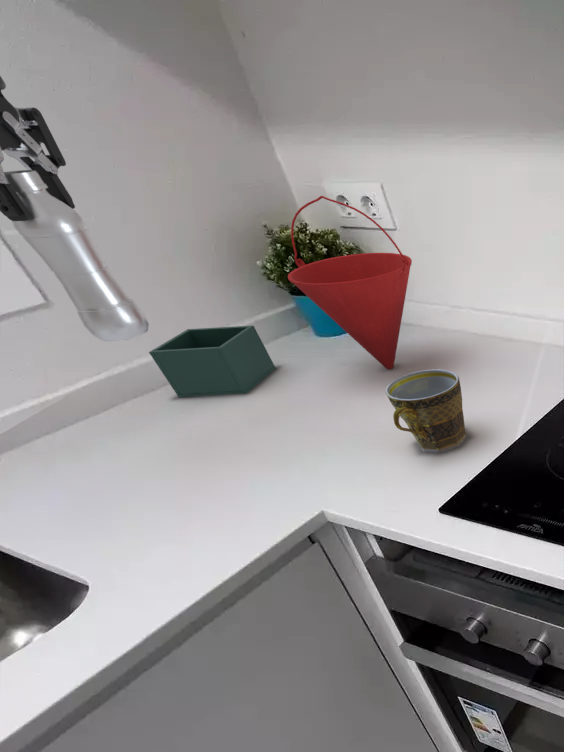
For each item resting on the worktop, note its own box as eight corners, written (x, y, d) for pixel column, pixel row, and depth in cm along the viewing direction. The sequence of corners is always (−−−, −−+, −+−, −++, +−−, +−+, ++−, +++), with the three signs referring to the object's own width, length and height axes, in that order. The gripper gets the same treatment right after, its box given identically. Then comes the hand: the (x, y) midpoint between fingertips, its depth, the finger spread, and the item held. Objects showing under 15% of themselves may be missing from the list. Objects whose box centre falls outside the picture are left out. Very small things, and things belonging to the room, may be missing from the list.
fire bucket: (464, 352, 113) (417, 184, 94) (415, 395, 98) (347, 206, 79) (369, 348, 116) (304, 185, 97) (307, 390, 101) (216, 206, 82)
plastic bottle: (119, 349, 74) (0, 177, 61) (85, 344, 76) (-37, 175, 63) (167, 332, 79) (65, 168, 66) (134, 327, 80) (29, 167, 68)
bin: (180, 399, 99) (148, 352, 94) (214, 374, 108) (187, 329, 102) (248, 395, 100) (220, 347, 94) (277, 370, 109) (253, 325, 103)
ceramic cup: (430, 425, 90) (409, 367, 83) (487, 429, 88) (470, 370, 82) (384, 470, 80) (356, 408, 73) (447, 475, 78) (425, 412, 72)
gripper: (-49, 37, 62) (59, 205, 73) (-197, 30, 51) (-44, 229, 62) (21, 36, 63) (118, 203, 73) (-110, 28, 51) (27, 226, 62)
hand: (44, 214), depth 67 cm, fingers closed on plastic bottle, 6 cm apart
